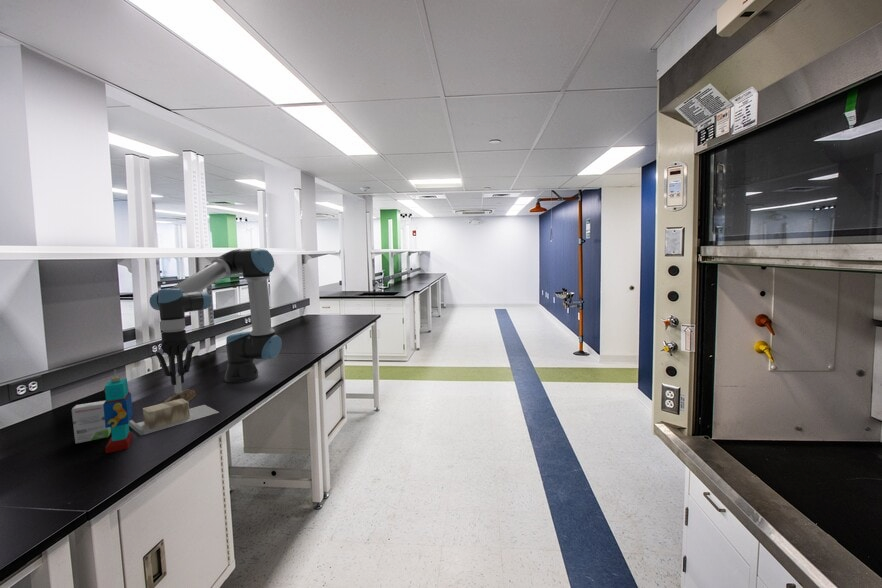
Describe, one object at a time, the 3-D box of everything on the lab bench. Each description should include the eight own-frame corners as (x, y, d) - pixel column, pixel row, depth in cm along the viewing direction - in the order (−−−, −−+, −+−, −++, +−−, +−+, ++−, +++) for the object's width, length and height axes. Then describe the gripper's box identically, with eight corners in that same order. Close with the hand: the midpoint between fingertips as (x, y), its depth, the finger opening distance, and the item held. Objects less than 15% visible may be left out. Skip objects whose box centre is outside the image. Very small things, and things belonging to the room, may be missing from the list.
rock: (184, 408, 158) (183, 394, 158) (155, 411, 155) (154, 397, 155) (197, 396, 173) (196, 383, 172) (170, 398, 170) (169, 385, 169)
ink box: (111, 432, 136) (108, 399, 135) (108, 437, 132) (105, 403, 131) (78, 438, 132) (75, 404, 131) (74, 444, 127) (70, 409, 126)
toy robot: (112, 441, 129) (105, 366, 127) (135, 436, 132) (129, 364, 130) (104, 455, 119) (96, 375, 117) (129, 450, 122) (122, 372, 120)
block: (181, 398, 151) (142, 408, 141) (188, 402, 146) (149, 412, 137) (182, 413, 151) (144, 424, 141) (189, 417, 147) (150, 429, 137)
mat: (204, 405, 160) (204, 400, 160) (219, 413, 152) (219, 408, 151) (128, 426, 141) (128, 420, 141) (140, 436, 132) (140, 430, 132)
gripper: (189, 326, 152) (193, 386, 154) (149, 332, 142) (154, 395, 144) (197, 328, 147) (201, 389, 149) (155, 334, 137) (161, 399, 139)
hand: (178, 392), depth 147 cm, fingers closed
